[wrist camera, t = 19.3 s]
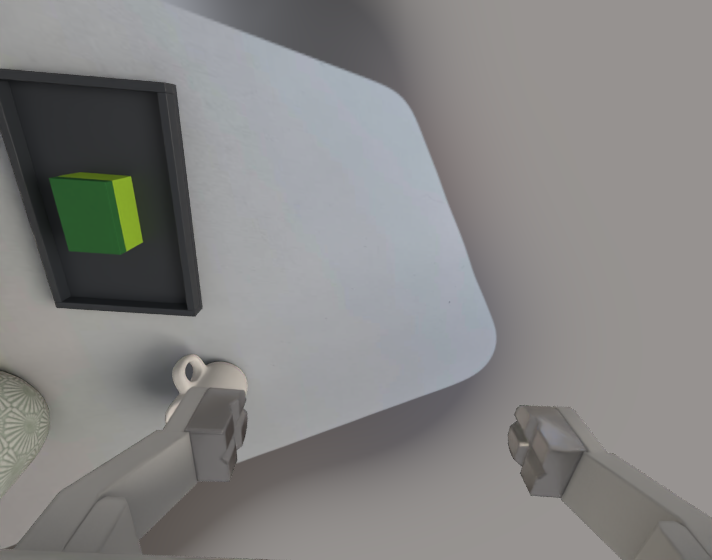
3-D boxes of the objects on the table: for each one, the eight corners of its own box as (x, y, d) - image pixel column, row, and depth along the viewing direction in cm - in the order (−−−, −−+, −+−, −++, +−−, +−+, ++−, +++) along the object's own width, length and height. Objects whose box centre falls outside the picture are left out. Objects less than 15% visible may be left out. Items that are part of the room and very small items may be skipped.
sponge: (80, 172, 35) (48, 177, 31) (131, 176, 35) (105, 182, 31) (96, 238, 38) (68, 251, 34) (143, 242, 38) (120, 255, 34)
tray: (2, 70, 32) (-21, 66, 30) (175, 84, 32) (164, 82, 30) (69, 299, 41) (56, 308, 40) (202, 307, 42) (195, 316, 40)
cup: (170, 347, 44) (133, 391, 37) (224, 327, 43) (198, 369, 36) (214, 407, 48) (189, 458, 41) (265, 391, 47) (249, 439, 40)
